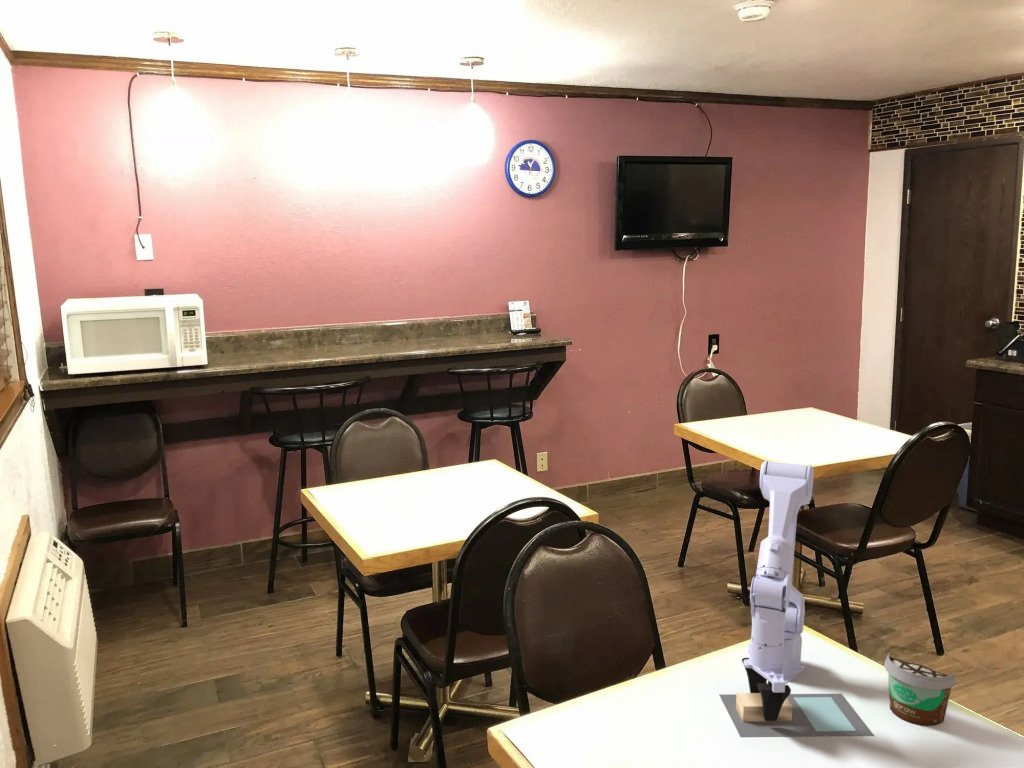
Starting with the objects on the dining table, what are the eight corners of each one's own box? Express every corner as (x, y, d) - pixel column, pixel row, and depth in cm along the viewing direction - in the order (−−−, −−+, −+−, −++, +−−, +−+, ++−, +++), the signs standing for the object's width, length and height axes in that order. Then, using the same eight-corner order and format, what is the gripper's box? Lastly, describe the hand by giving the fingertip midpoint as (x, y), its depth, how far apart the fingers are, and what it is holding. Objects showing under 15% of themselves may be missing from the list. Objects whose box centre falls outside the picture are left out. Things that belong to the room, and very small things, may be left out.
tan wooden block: (783, 707, 153) (783, 692, 153) (791, 721, 149) (792, 706, 148) (735, 708, 153) (736, 693, 153) (742, 721, 149) (743, 706, 148)
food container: (871, 712, 153) (875, 662, 151) (882, 699, 157) (886, 650, 156) (942, 738, 144) (947, 686, 143) (952, 724, 149) (957, 673, 147)
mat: (841, 695, 158) (841, 693, 158) (874, 738, 144) (874, 735, 144) (719, 696, 158) (719, 694, 158) (740, 739, 144) (740, 736, 144)
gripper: (734, 622, 156) (731, 687, 158) (758, 659, 141) (754, 730, 143) (770, 621, 156) (767, 687, 158) (798, 658, 141) (794, 730, 144)
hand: (763, 708), depth 151 cm, fingers open, 7 cm apart
